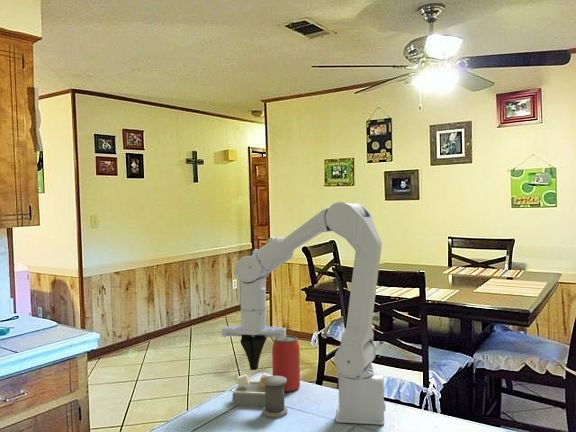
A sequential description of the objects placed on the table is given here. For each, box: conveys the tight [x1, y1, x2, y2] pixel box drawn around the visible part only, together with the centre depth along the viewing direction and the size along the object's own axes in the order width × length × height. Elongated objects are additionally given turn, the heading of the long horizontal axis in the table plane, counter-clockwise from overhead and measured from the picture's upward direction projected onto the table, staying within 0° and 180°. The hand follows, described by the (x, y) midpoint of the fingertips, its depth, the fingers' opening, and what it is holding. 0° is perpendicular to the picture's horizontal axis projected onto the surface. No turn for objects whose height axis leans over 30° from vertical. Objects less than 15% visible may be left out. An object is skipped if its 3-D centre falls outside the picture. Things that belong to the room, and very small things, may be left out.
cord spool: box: [262, 375, 288, 419], centre depth 104 cm, size 5×5×7 cm
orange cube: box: [259, 374, 268, 387], centre depth 111 cm, size 2×2×2 cm
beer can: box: [271, 334, 301, 393], centre depth 118 cm, size 7×7×12 cm
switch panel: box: [232, 380, 265, 408], centre depth 112 cm, size 8×8×3 cm
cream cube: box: [236, 373, 251, 387], centre depth 112 cm, size 2×2×2 cm
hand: (254, 368), depth 111 cm, fingers closed
